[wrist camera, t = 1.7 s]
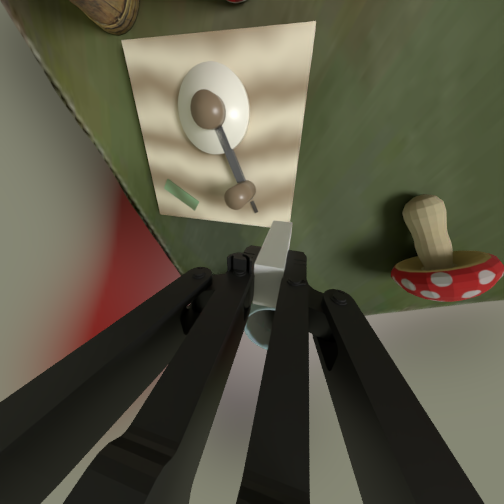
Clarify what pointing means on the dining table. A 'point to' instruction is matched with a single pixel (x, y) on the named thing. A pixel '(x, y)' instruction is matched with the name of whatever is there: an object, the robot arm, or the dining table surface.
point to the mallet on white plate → (217, 120)
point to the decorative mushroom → (441, 258)
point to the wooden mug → (110, 13)
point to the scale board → (260, 125)
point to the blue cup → (260, 324)
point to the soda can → (236, 1)
